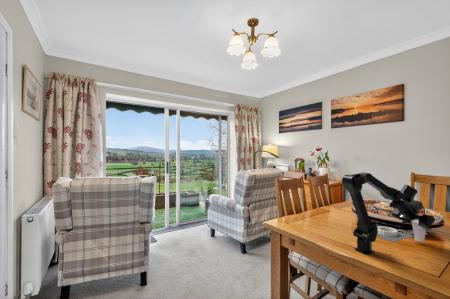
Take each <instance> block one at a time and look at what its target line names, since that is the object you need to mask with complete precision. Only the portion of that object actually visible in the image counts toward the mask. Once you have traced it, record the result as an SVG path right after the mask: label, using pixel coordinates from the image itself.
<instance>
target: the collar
mask: <svg viewBox="0 0 450 299" xmlns="http://www.w3.org/2000/svg"><path fill="white" fill-rule="evenodd" d="M377 227H378V229H377V230H378V233H379V234H381V235H384V236H391V237H395V236H397V231H398V230H397V229H396V228H393V227H389V226H383V225H381V226H380V225H379V226H377Z"/></svg>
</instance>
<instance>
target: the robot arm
mask: <svg viewBox="0 0 450 299" xmlns="http://www.w3.org/2000/svg"><path fill="white" fill-rule="evenodd" d="M341 183H342V185H343V187H344V189H345V190H346V191H347V192H348V193H349V196H350V198H351V201H352V204H353V207H354V211H355V213H356V217H357V221H356V227H355V229H354V230H353V231H352V234H353V237H356V247H354V250H355V251H356V252H360V253H362V254H363V255H370V254H374V253H376V251H375V250H374V249H373V244H372V243H373V242H374V243H376V241H377V240H376V239H377V238H378V237H377V233H378V230H377V229H378V227H379V226H378V225H377V222H376V220H374V219H371V218H370V216H369V213H368V210H367V206H366V204H365V201H364V198H363V195H362V189H363V185H365V184H368V185H369V186H371V187H372V188H373V189H375V190H376V191H378V192H379V194H380V195H381V196H382V197H383V198H384V199H385V200H389V201H390V202H389V206H388V207H389V208H392V209H393V211H392V212H391V217H393V218H395V219H398V220H400V221H403V222H405V223H407V224H409V225H411V226H412V223H411V221H413V220H417V221H418V220H419V221H418V223H419V224H418V225H419V226H421V227H423V228H424V229H426V230H427V231H428V230H429V229H430V228H431V227H432V226H433V224H434V223H435V222H436V218H435V216H434V215H431V214H428V213H423V214H422V215H421V214H420V210H422V209H424V208H425V207H424V204H423V202H422V201H419V200H414V198H415V197H416V195H417V194H418V193H419V191H418V190H417V189H416V188H414V187H412V186H410V185H409V184H404V185H403V186H402V188H401V189H400V190H399V189H396V188H395V187H391V186H389V185H387V184H386V183H384V182H382V181H381V180H379V179H378V178H376V177H375V176H374V175H373V174H371V173H370V172H359V173H353V174H344V175H343V177H342V178H341ZM418 214H419V215H418Z"/></svg>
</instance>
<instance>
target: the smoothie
mask: <svg viewBox="0 0 450 299" xmlns="http://www.w3.org/2000/svg"><path fill="white" fill-rule="evenodd" d="M417 215H420V213H419V214H417ZM418 221H419V220H418V219H415V220H413V221H411V223H412V225H411V226H412V227H411V228H412V232H413V238H414V241H416V242H420V243H425V237H426V232H427V231H426V229H424V228H423V227H421V226H419V225H418V224H419V223H418Z"/></svg>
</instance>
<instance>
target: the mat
mask: <svg viewBox="0 0 450 299" xmlns="http://www.w3.org/2000/svg"><path fill="white" fill-rule="evenodd" d="M402 232H403V231H400V232H397V236H395V237H391V236H384V235H381V234H379V233H377V237H376V238H381V239H383V240H386V241H389V242H392V243H395V242H398V241H399V242H400V241H403V240H406V239H411V238H414V234H409V233H407V234H406V232H403V233H402Z"/></svg>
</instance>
